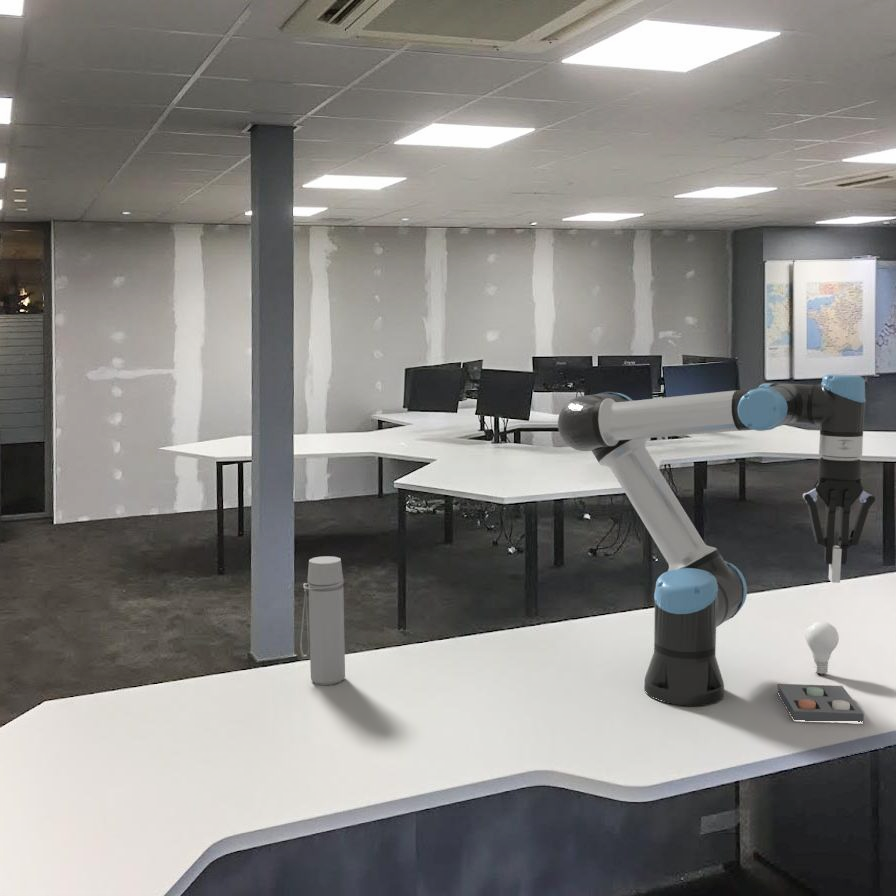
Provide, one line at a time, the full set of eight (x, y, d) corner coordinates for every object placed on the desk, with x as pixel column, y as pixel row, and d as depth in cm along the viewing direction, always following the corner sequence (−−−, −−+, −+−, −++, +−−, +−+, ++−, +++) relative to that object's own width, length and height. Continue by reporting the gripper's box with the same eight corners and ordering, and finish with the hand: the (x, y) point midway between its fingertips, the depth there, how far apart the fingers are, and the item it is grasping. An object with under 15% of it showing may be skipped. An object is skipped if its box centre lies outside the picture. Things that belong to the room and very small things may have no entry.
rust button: (800, 715, 181) (800, 704, 180) (796, 709, 184) (796, 698, 183) (817, 716, 180) (817, 705, 180) (813, 710, 183) (813, 699, 183)
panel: (794, 721, 179) (794, 711, 179) (777, 693, 193) (777, 683, 192) (863, 724, 178) (863, 713, 177) (841, 695, 191) (842, 685, 191)
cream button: (834, 717, 180) (834, 705, 180) (829, 710, 183) (830, 699, 183) (851, 717, 180) (851, 706, 179) (846, 711, 183) (847, 700, 182)
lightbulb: (841, 679, 200) (844, 626, 199) (810, 679, 200) (812, 626, 199) (830, 668, 206) (832, 617, 205) (799, 668, 206) (801, 617, 205)
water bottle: (349, 673, 206) (347, 555, 203) (341, 687, 198) (339, 564, 195) (306, 672, 207) (302, 555, 204) (296, 686, 199) (293, 564, 196)
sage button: (808, 702, 187) (808, 692, 186) (804, 697, 190) (805, 686, 189) (825, 703, 186) (825, 692, 186) (820, 697, 189) (821, 687, 189)
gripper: (807, 459, 182) (802, 584, 185) (882, 461, 180) (875, 587, 183) (799, 454, 190) (794, 574, 193) (871, 455, 188) (865, 577, 191)
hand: (834, 580), depth 188 cm, fingers closed
